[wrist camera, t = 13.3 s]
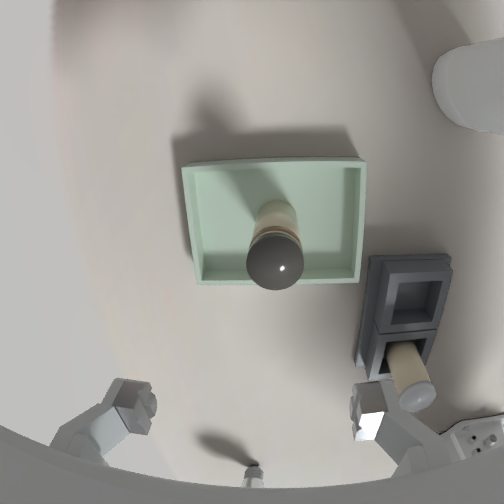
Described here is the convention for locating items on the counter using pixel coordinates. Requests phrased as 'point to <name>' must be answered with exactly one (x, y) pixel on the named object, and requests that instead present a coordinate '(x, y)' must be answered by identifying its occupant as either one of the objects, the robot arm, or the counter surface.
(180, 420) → the counter surface
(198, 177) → the parts tray
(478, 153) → the counter surface
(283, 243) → the fuse
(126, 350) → the counter surface
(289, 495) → the robot arm
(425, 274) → the fuse block
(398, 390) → the fuse
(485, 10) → the counter surface
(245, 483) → the light bulb
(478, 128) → the bottle
